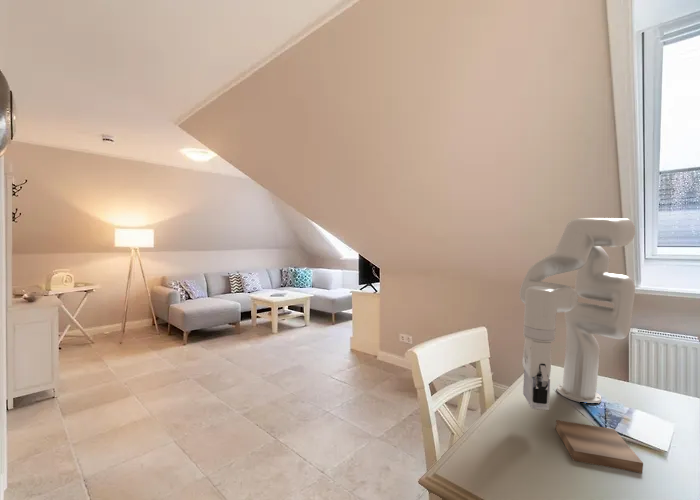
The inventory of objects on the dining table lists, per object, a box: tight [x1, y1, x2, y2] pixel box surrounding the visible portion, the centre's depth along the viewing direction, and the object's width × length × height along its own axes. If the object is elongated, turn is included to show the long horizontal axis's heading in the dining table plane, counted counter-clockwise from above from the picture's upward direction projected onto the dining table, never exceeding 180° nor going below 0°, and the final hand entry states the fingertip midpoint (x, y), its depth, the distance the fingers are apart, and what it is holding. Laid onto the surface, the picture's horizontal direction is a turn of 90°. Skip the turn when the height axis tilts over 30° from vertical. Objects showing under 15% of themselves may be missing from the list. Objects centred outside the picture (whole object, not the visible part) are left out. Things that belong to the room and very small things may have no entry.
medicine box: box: [522, 367, 551, 411], centre depth 94 cm, size 8×4×9 cm, turn 168°
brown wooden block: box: [555, 419, 644, 474], centre depth 88 cm, size 14×14×2 cm
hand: (535, 394), depth 94 cm, fingers closed on medicine box, 8 cm apart
